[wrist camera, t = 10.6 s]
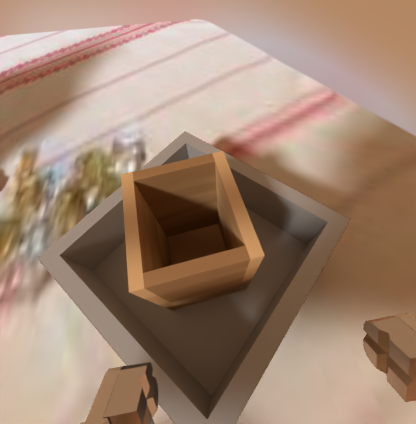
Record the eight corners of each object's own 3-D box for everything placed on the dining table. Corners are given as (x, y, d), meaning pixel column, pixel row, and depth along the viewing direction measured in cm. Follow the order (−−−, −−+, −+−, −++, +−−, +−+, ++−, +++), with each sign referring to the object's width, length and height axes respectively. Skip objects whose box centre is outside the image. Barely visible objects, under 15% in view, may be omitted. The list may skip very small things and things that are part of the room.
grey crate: (215, 421, 13) (210, 467, 9) (82, 276, 18) (37, 258, 14) (319, 246, 18) (350, 219, 13) (192, 169, 23) (185, 131, 18)
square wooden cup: (246, 289, 16) (264, 255, 9) (172, 310, 15) (128, 292, 8) (223, 218, 19) (222, 150, 12) (160, 235, 18) (121, 174, 11)
